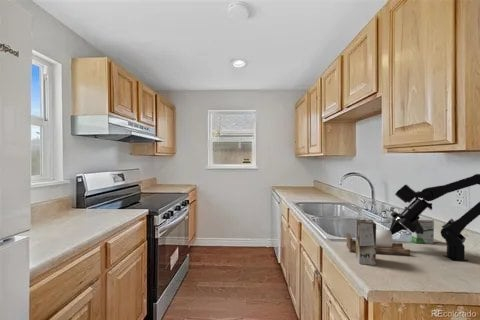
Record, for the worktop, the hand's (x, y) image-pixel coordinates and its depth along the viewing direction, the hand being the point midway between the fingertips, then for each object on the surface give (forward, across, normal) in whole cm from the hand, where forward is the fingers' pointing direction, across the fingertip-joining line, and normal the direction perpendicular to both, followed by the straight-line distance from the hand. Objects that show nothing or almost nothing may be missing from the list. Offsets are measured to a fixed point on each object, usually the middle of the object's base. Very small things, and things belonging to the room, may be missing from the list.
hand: (389, 234), depth 141 cm
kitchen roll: (+8, -3, 0) cm, 8 cm away
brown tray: (+9, -3, 0) cm, 9 cm away
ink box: (-7, +17, -20) cm, 27 cm away
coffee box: (+14, -19, +6) cm, 25 cm away
